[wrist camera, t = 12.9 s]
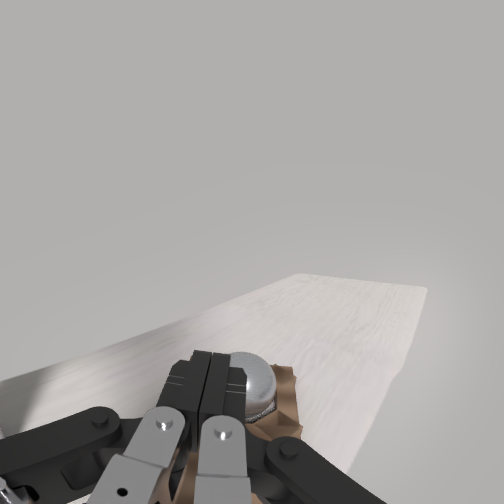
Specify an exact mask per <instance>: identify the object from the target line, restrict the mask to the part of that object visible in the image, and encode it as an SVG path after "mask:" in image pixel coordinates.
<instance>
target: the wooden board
mask: <svg viewBox="0 0 504 504" xmlns="http://www.w3.org/2000/svg"><path fill="white" fill-rule="evenodd" d="M191 358H192V356H191ZM191 358H190V361H191ZM270 367H271V368H272V370H273V372H274V374H275V378H276V393H275V396H274V397H275V411H274V412H272V413H270V414H269V415H267V416H265V417H263V418H262V419H260V420H258V421H257V422H255V423H253V424H249V423H245V425H246V427H247V429H248V430H249V431H250V432H251V433H252V434H253V435H255V436H257V437H259V438H262V439H265V440H268V441H272V440H273V439H275V438H278V437H282V436H291V437H296V438H298V439H300V440H301V437H300V435H301V432H302V429H303V426H301V425H300V424H299V419H298V410H297V402H296V393H295V382H296V378H297V377H296V376H294V375H293V369H292V367H286V366H278V365H276V364H275V365H270ZM198 461H199V447H198V452H197V453H194V452H190V456H189V461H188V463H187V470H186V473H185V476H184V479H183V482H182V485H181V488H180V491H179V494H178V497H177V500H176V503H175V504H194V494H195V482H196V474H197V472H198ZM251 500H252V504H263V503H262V502H261V501H260V500H259V499H258V498H257V496H256V494H254V493H251Z"/></svg>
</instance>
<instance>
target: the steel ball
mask: <svg viewBox="0 0 504 504" xmlns="http://www.w3.org/2000/svg"><path fill="white" fill-rule="evenodd" d="M230 355H231V362H230V367H238V368H243V370H244V371H245V373H246V375H247V391H246V407H245V418H250V417H253V416H256V415H258V414H260V413H262V412H263V411H264V410H266V409H267V408H268V407H269V405H270V404H271V402H272V401H273V399H274V396H275V393H276V378H275V374H274V372H273V370H272V368H271V367H270V365H269V364H268V363H267V362H266V361H265V360H264V359H262V358H261V357H259V356H257V355H255V354H252V353H248V352H235V353H231V354H230Z"/></svg>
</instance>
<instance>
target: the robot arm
mask: <svg viewBox="0 0 504 504" xmlns="http://www.w3.org/2000/svg"><path fill="white" fill-rule="evenodd" d="M230 362H231V355H230V354H222V353H214V352H213V356H212V352H206V351H199V350H194V352H193V355H192V358H191V361H185V360H179V361H178V362H177V363H176V364H174V365H173V366H172V368H171V371H170V373H169V376H168V378H167V380H166V383H165V385H164V388H163V390H162V393H161V395H160V398H159V400H158V403H157V405H156V407H155V408H153V409H150V410H149V411H148V412H147V413H146V414H145V415H144V417H142V418H137V419H120V418H119V416H118V414H117V413H116V412H115V411H114V410H112V409H110V408H107V407H101V406H99V407H93V408H90V409H87V410H84V411H82V412H79V413H76V414H74V415H71V416H68V417H66V418H63V419H60V420H57V421H55V422H52V423H49V424H46V425H43V426H40V427H37V428H34V429H31V430H28V431H25V432H22V433H19V434H16V435H13V436H9V437H6V436H5V434H4V433H3V431H2V429H1V427H0V504H67V503H69V502H72V501H74V500H77V499H79V498H81V497H84V496H86V495H88V494H91V493H92V494H91V496H90V498H89V499H88V501H87V503H83V504H175V503H176V500H177V497H178V494H179V491H180V488H181V485H182V482H183V479H184V476H185V473H186V470H187V463H188V461H189V456H190V452H194V453H197V452H198V447H199V461H198V472H197V474H196V482H195V494H194V504H252V500H251V493H254V494H256V496H257V498H258V499H259V500H260V501H261V502H262V503H263V504H386V503H385V502H384V501H382V500H380V499H379V498H378V497H376V496H375V495H373V494H372V493H371V492H369V491H368V490H366V489H365V488H363V487H362V486H361V485H359V484H358V483H356V482H355V481H354V480H352V479H351V478H350V477H348V476H347V475H346V474H344V473H343V472H342V471H340V470H339V469H338V468H336V467H335V466H334V465H332V464H331V463H330V462H329V461H327V460H326V459H325V458H324V457H322V456H321V455H320V454H318V453H317V452H316V451H315V450H314V449H312V448H311V447H310V446H309V445H307V444H306V443H305V442H304V441H302V440H300V439H298V438H296V437H291V436H282V437H278V438H275V439H273V440H272V441H268V440H265V439H262V438H259V437H257V436H255V435H253V434H252V433H251V432H250V431H249V430H248V429H247V427H246V425H245V407H246V391H247V375H246V373H245V371H244V370H243V368H238V367H230Z"/></svg>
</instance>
